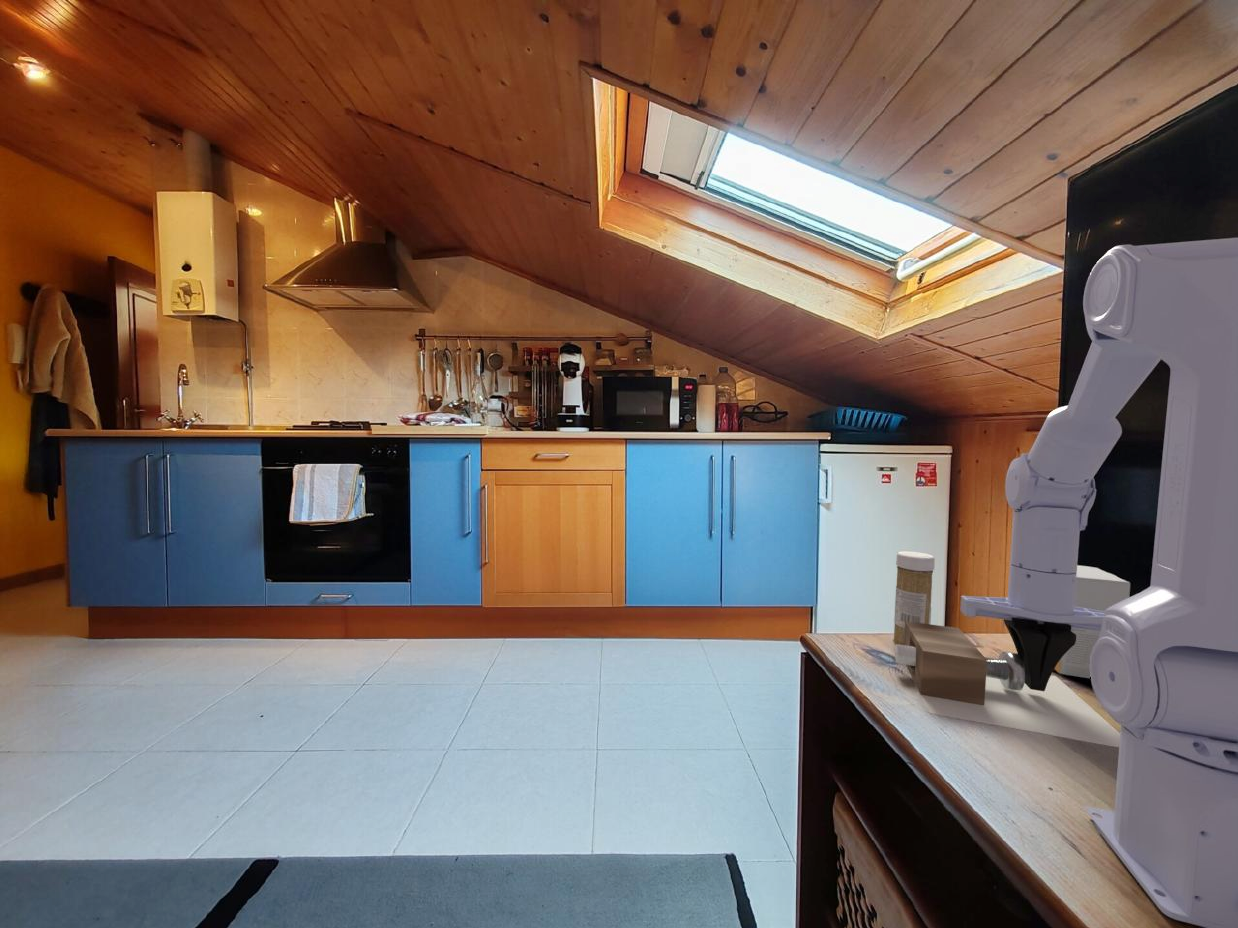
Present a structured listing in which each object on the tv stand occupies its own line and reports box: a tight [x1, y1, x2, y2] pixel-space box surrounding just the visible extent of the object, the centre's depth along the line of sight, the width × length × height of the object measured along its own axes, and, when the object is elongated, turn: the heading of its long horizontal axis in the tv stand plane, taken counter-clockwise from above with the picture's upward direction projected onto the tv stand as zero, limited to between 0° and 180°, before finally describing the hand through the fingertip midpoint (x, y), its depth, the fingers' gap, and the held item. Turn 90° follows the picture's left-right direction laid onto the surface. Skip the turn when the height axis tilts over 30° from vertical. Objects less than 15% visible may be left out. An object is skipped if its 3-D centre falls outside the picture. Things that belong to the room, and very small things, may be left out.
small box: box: [1054, 564, 1131, 679], centre depth 65 cm, size 8×6×13 cm
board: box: [904, 664, 1120, 749], centre depth 57 cm, size 16×17×1 cm
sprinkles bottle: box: [892, 550, 935, 645], centre depth 70 cm, size 5×5×14 cm
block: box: [904, 621, 987, 706], centre depth 60 cm, size 10×6×5 cm, turn 160°
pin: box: [894, 644, 1025, 691], centre depth 59 cm, size 4×12×4 cm, turn 70°
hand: (1033, 686), depth 57 cm, fingers closed
